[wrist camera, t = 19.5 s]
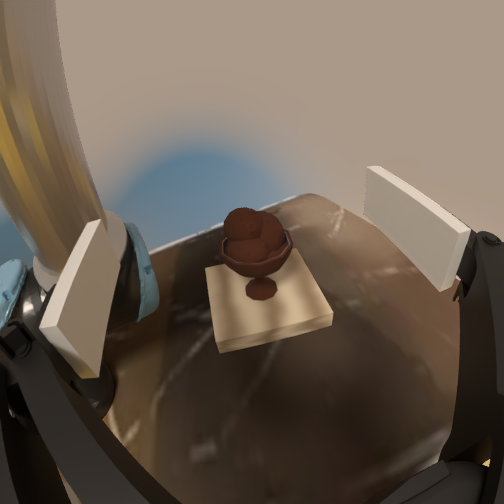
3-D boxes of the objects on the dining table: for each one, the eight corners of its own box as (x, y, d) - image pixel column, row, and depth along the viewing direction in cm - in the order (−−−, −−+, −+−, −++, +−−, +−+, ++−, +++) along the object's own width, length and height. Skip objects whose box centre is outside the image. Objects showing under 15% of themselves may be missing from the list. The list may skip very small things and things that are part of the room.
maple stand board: (219, 353, 42) (215, 342, 40) (208, 279, 57) (205, 268, 55) (331, 325, 44) (333, 312, 42) (296, 260, 58) (296, 248, 57)
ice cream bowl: (261, 324, 42) (248, 239, 33) (216, 290, 49) (197, 213, 41) (307, 287, 47) (307, 205, 39) (261, 261, 55) (252, 187, 46)
